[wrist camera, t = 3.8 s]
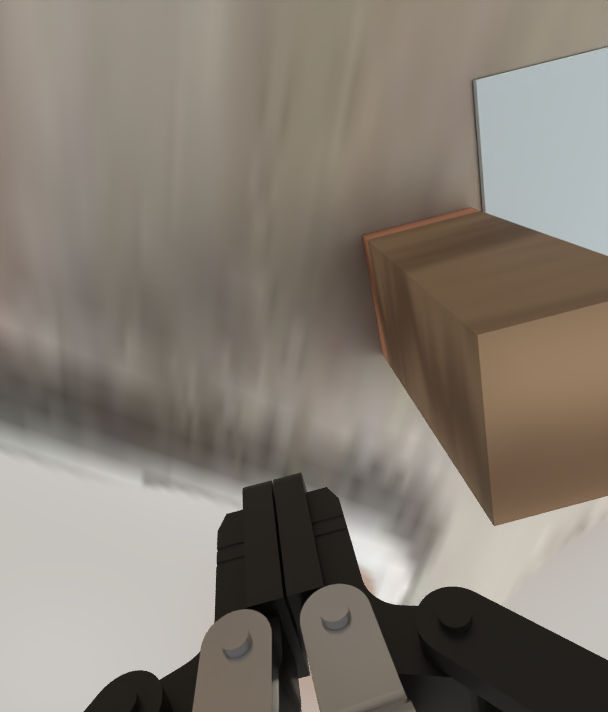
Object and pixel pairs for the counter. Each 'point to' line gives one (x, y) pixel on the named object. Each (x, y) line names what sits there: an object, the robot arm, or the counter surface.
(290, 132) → the counter surface
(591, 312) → the walnut block
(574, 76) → the mat
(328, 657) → the robot arm
